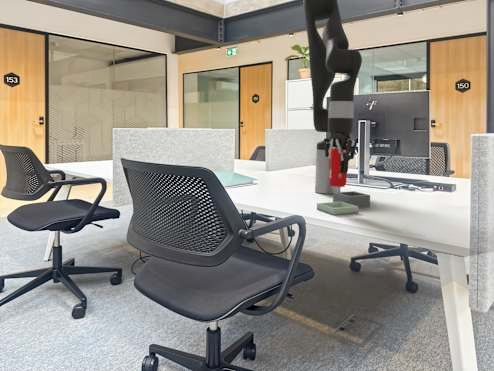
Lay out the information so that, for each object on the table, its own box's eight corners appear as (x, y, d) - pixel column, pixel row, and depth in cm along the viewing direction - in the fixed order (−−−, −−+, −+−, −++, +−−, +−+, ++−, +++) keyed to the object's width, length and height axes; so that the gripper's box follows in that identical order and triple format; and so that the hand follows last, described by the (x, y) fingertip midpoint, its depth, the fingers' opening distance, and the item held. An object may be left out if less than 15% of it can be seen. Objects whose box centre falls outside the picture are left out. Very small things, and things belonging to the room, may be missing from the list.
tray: (340, 207, 136) (340, 201, 136) (358, 212, 128) (358, 206, 127) (316, 209, 132) (316, 203, 132) (333, 215, 124) (333, 208, 124)
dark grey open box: (353, 202, 145) (353, 191, 144) (369, 207, 137) (370, 195, 137) (332, 204, 142) (333, 192, 141) (348, 208, 134) (349, 196, 133)
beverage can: (336, 184, 132) (338, 146, 131) (349, 186, 128) (351, 147, 127) (325, 185, 129) (327, 147, 127) (338, 187, 125) (340, 148, 123)
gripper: (366, 116, 121) (362, 174, 123) (337, 117, 134) (334, 169, 136) (345, 116, 118) (342, 175, 120) (317, 116, 131) (315, 170, 133)
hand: (338, 171), depth 128 cm, fingers closed on beverage can, 5 cm apart
